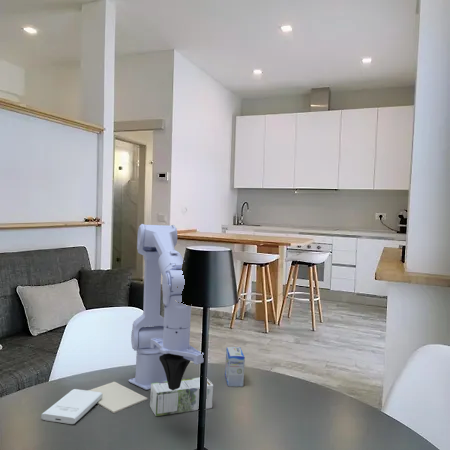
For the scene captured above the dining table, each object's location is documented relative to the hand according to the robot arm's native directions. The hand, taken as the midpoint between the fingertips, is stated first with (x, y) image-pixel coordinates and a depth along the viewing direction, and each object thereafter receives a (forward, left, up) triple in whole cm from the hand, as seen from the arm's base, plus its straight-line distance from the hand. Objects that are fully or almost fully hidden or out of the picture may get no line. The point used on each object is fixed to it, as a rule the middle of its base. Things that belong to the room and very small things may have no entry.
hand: (174, 388), depth 88 cm
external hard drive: (+10, -24, -10) cm, 27 cm away
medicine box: (-31, -8, -10) cm, 33 cm away
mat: (-1, -23, -10) cm, 24 cm away
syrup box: (-3, -10, -7) cm, 12 cm away
